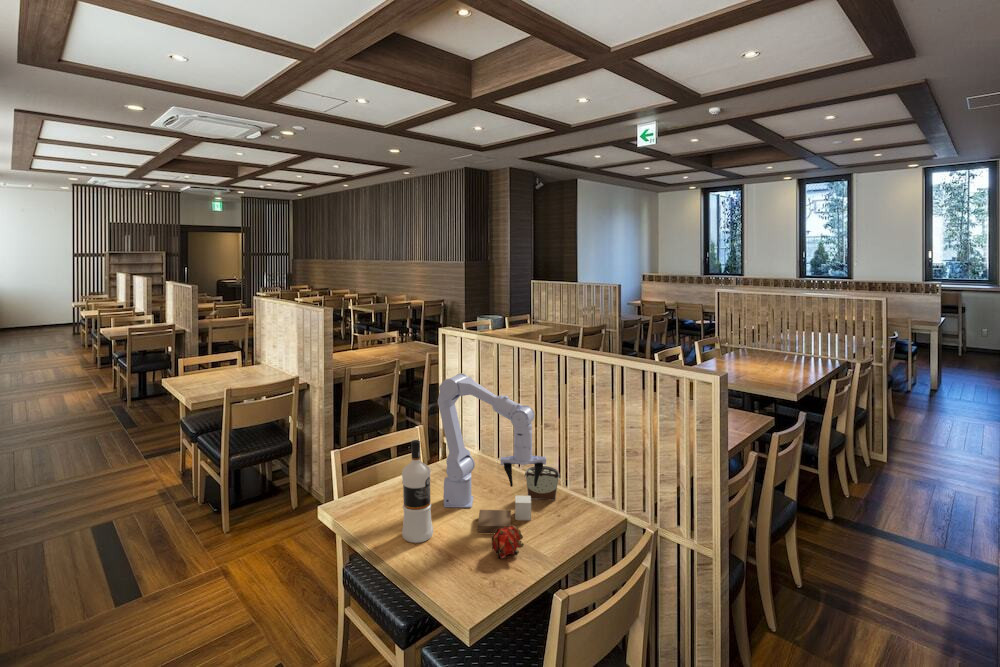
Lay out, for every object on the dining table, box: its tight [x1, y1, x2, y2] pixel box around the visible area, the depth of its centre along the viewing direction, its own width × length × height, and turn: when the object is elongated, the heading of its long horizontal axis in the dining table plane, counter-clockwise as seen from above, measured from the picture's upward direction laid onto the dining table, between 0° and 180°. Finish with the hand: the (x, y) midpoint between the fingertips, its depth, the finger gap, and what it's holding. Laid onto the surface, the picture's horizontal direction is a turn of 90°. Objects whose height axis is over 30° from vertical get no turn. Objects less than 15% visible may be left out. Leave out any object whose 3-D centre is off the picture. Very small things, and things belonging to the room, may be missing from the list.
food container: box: [524, 465, 561, 501], centre depth 188 cm, size 12×6×10 cm, turn 84°
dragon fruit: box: [491, 524, 525, 560], centre depth 152 cm, size 8×8×12 cm
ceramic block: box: [514, 495, 532, 521], centre depth 174 cm, size 5×5×6 cm
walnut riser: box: [477, 509, 512, 534], centre depth 168 cm, size 10×10×3 cm
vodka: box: [401, 439, 434, 544], centre depth 160 cm, size 9×9×30 cm
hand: (523, 485), depth 173 cm, fingers open, 7 cm apart
